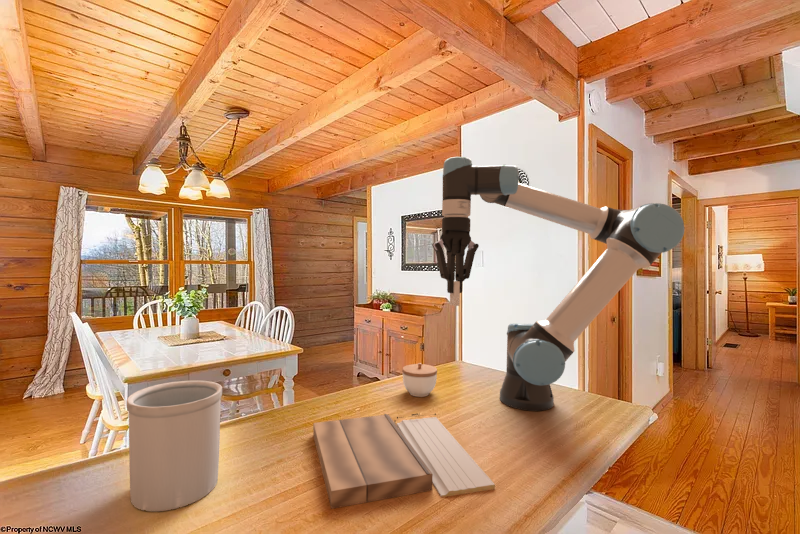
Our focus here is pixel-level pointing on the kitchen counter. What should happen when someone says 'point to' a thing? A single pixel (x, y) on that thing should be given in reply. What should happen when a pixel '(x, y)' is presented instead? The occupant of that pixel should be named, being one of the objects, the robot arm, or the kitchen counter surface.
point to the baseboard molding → (444, 457)
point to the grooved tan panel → (368, 461)
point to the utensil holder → (173, 443)
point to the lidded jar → (419, 379)
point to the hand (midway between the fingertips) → (454, 305)
